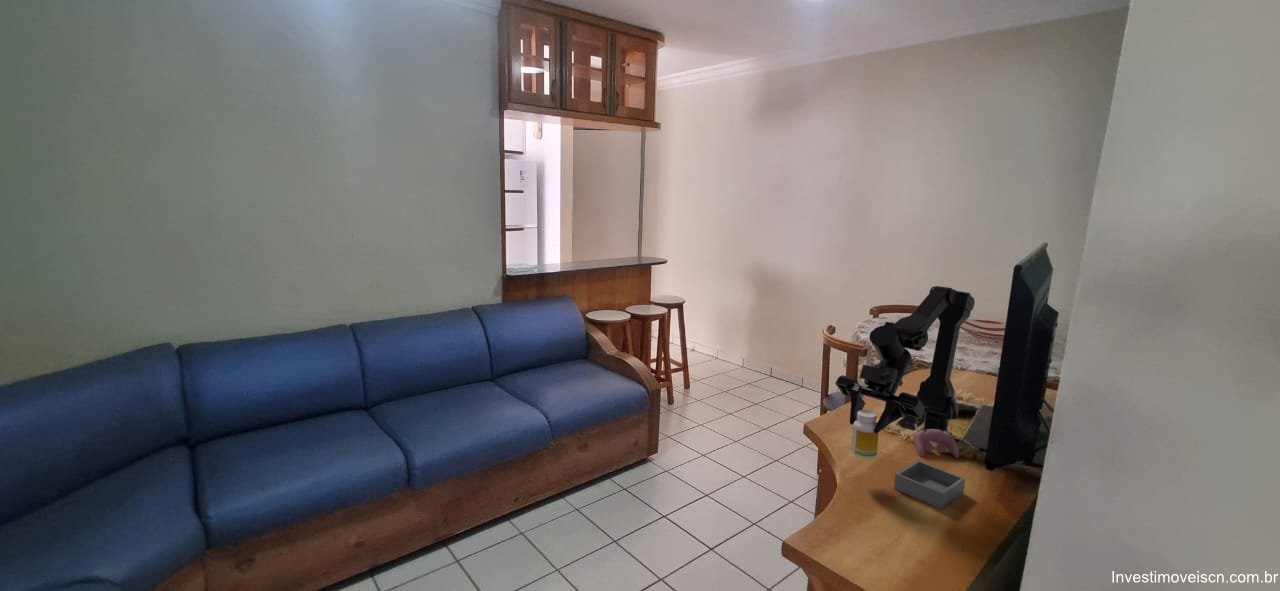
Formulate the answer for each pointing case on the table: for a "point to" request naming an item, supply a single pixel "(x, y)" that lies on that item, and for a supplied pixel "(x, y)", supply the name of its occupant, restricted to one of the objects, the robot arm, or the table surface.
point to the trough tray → (929, 484)
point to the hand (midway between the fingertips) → (862, 428)
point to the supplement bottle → (865, 435)
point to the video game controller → (941, 436)
